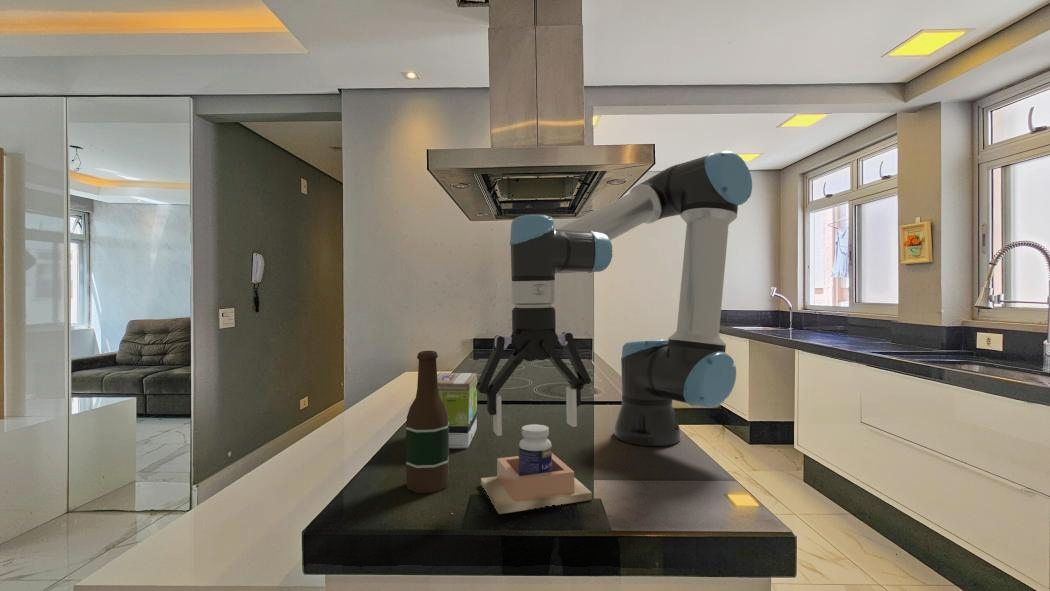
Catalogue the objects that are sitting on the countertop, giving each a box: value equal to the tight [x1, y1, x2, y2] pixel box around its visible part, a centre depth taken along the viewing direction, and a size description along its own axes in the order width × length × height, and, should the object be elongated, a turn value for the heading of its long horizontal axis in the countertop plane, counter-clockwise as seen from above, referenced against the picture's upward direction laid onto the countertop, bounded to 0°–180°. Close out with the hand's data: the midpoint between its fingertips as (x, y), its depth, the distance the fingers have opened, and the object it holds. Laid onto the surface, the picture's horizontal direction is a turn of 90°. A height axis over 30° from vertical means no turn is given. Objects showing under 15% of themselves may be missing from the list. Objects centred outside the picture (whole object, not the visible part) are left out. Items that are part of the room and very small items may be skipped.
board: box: [480, 475, 593, 515], centre depth 82 cm, size 16×12×1 cm
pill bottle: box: [518, 424, 553, 476], centre depth 82 cm, size 6×6×10 cm
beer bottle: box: [405, 350, 450, 494], centre depth 85 cm, size 8×8×24 cm
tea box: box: [437, 372, 478, 449], centre depth 113 cm, size 15×10×15 cm
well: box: [496, 452, 575, 502], centre depth 82 cm, size 10×10×4 cm
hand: (535, 429), depth 82 cm, fingers open, 13 cm apart
